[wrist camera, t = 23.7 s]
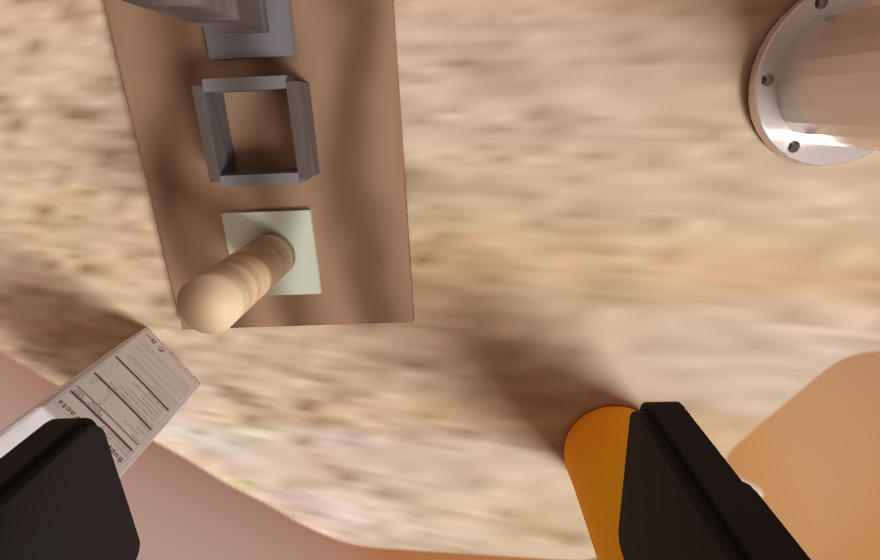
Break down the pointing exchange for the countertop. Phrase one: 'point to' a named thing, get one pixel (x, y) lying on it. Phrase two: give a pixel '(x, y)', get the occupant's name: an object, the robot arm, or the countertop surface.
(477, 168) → the countertop surface
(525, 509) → the countertop surface
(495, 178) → the countertop surface
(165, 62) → the eye board
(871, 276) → the countertop surface
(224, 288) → the oak peg
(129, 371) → the supplement box
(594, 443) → the beer bottle
